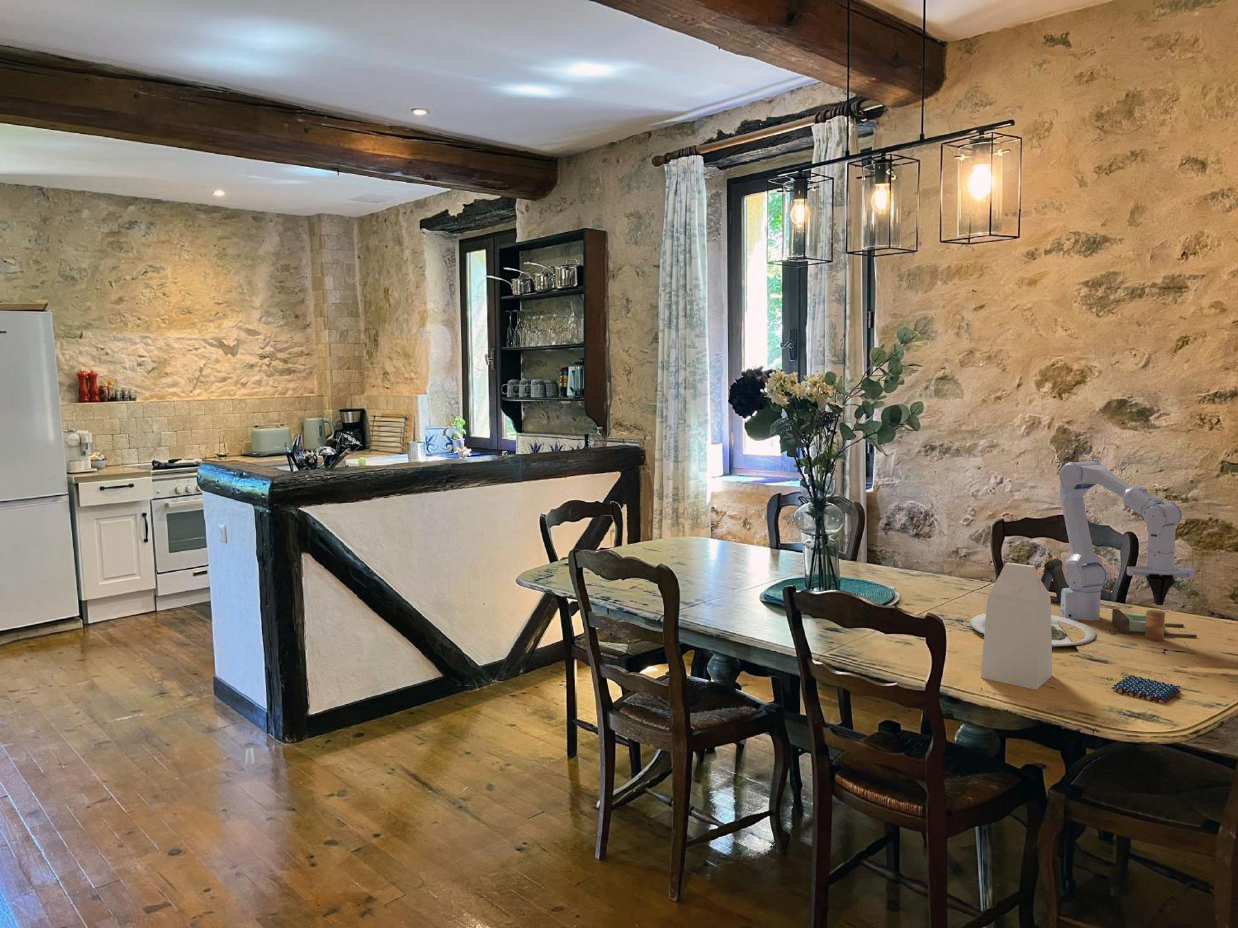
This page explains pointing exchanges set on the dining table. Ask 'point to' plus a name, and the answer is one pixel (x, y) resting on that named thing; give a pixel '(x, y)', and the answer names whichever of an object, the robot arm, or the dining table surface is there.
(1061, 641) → the plated food
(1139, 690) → the woven mat
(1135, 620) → the socket block
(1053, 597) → the door stopper
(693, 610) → the dining table surface
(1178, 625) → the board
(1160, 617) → the dowel
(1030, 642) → the milk
